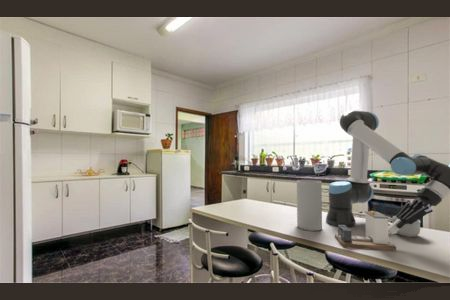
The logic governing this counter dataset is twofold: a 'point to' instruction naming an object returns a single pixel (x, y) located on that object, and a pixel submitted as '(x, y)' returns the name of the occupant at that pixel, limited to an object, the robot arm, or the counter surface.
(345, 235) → the end clamp
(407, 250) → the counter surface
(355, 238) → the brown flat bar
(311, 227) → the cylinder vase
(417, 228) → the teacup
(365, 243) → the board
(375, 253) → the counter surface
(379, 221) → the white rectangular container
